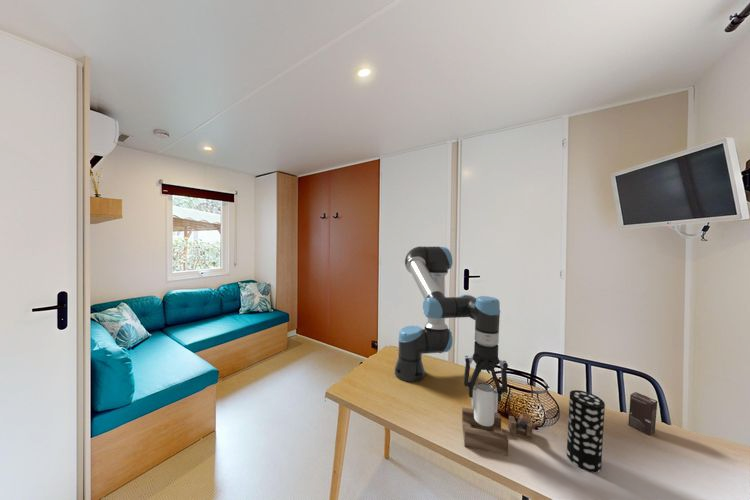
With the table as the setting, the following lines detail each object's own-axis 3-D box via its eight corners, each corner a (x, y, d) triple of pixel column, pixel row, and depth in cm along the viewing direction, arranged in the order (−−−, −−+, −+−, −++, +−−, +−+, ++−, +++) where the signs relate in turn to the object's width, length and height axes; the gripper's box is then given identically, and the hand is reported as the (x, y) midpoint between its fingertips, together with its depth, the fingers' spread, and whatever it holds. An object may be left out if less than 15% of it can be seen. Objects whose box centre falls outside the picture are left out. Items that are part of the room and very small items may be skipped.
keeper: (516, 428, 90) (515, 423, 92) (524, 430, 90) (523, 424, 91) (522, 418, 83) (521, 412, 85) (531, 420, 83) (530, 413, 84)
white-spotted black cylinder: (591, 476, 74) (595, 410, 73) (560, 454, 81) (563, 393, 80) (607, 466, 77) (610, 403, 76) (576, 446, 85) (579, 387, 84)
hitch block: (461, 417, 97) (462, 405, 97) (528, 430, 91) (529, 417, 91) (464, 446, 84) (465, 431, 83) (543, 463, 78) (543, 448, 77)
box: (627, 425, 95) (629, 394, 94) (633, 421, 97) (635, 391, 96) (650, 436, 89) (652, 403, 89) (655, 433, 91) (658, 400, 91)
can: (496, 428, 84) (497, 393, 83) (475, 425, 85) (476, 390, 85) (491, 415, 90) (492, 382, 90) (472, 412, 91) (473, 380, 91)
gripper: (457, 343, 86) (455, 409, 87) (521, 350, 81) (518, 421, 81) (456, 335, 93) (454, 396, 94) (514, 341, 88) (512, 406, 89)
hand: (484, 407), depth 88 cm, fingers closed on can, 6 cm apart
